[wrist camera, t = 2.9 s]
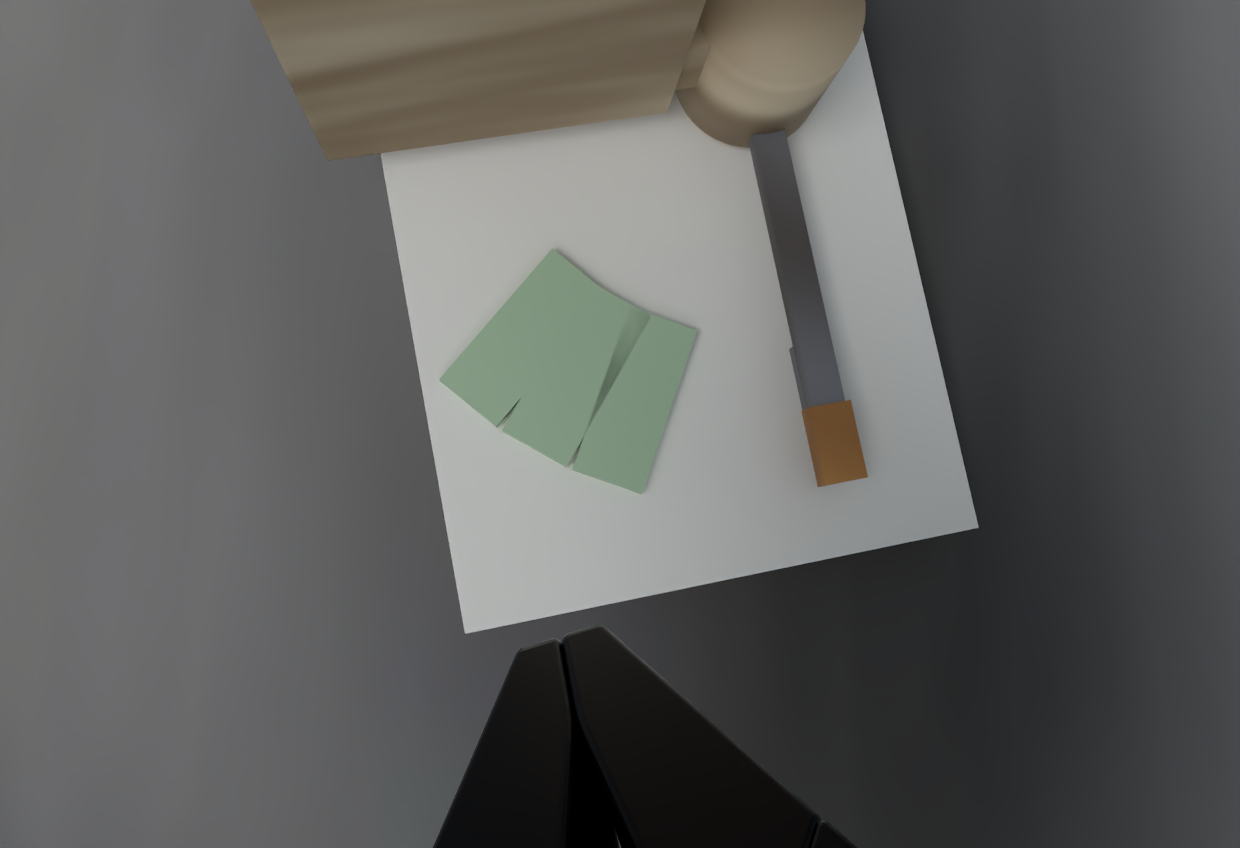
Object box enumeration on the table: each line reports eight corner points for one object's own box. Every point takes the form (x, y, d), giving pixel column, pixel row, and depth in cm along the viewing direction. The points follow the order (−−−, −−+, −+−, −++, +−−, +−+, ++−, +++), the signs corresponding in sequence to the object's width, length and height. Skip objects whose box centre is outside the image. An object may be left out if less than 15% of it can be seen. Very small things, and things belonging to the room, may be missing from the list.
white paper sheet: (953, 528, 22) (985, 527, 21) (467, 628, 21) (464, 635, 19) (830, -9, 23) (851, -46, 22) (365, 51, 22) (355, 16, 21)
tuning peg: (907, 469, 21) (1174, 415, 12) (400, 569, 19) (311, 585, 11) (800, -1, 22) (979, -346, 13) (313, 62, 20) (173, -277, 12)
